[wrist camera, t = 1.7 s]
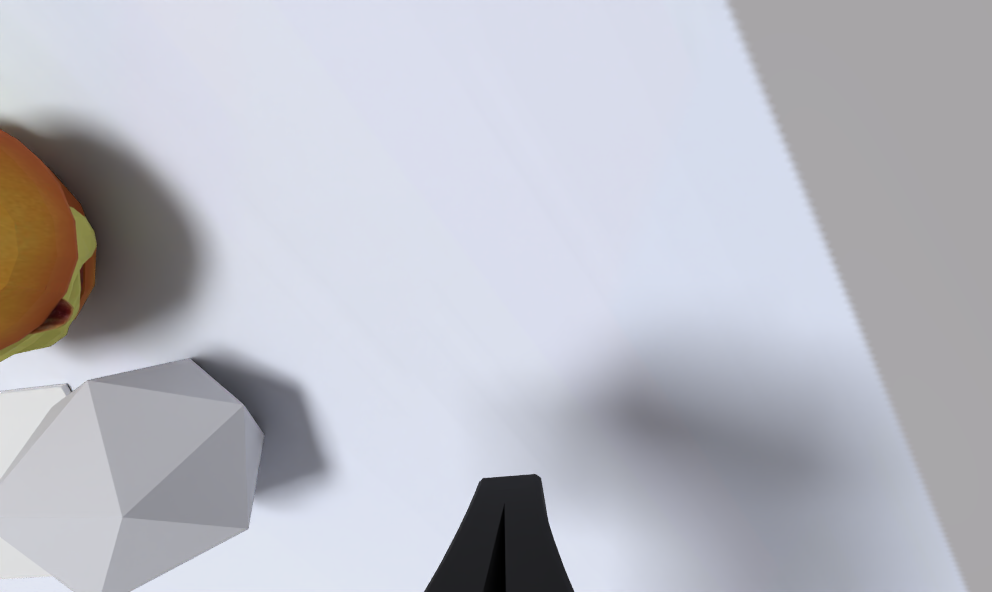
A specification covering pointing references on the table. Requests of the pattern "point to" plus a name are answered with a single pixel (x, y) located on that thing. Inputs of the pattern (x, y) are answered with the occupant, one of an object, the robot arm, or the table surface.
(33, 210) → the cheeseburger
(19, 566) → the mat
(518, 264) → the table surface
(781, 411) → the table surface
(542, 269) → the table surface
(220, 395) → the die
